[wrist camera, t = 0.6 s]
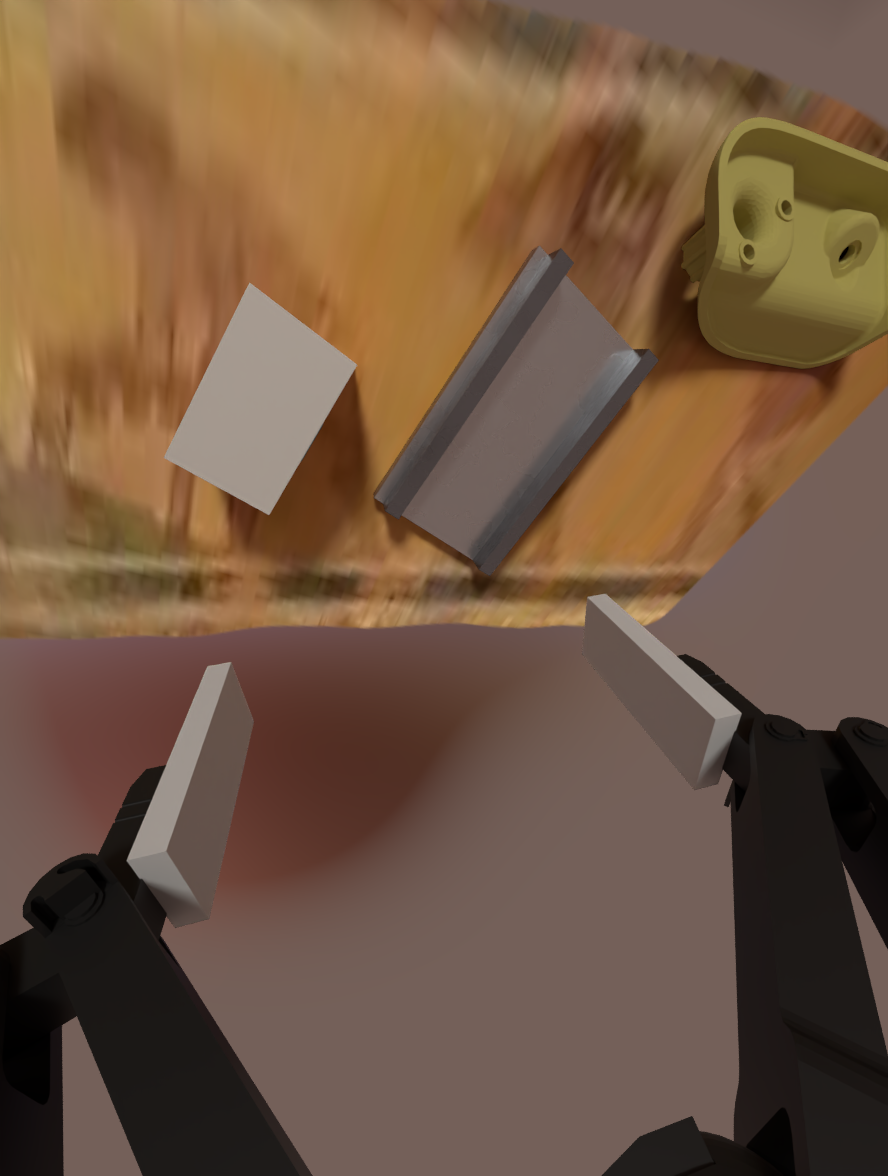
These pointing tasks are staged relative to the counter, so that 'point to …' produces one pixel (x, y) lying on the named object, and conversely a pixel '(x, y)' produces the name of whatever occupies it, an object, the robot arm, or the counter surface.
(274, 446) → the block
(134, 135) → the counter surface
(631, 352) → the grey channel bracket
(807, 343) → the plastic component
